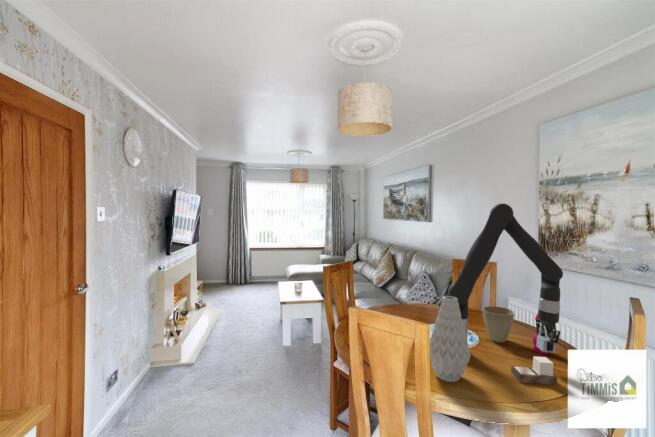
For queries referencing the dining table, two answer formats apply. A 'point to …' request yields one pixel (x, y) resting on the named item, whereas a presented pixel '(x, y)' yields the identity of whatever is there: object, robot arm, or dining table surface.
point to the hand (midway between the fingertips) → (545, 347)
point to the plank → (532, 376)
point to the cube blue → (544, 344)
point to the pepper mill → (536, 341)
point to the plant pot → (498, 322)
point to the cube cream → (543, 365)
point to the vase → (449, 342)
